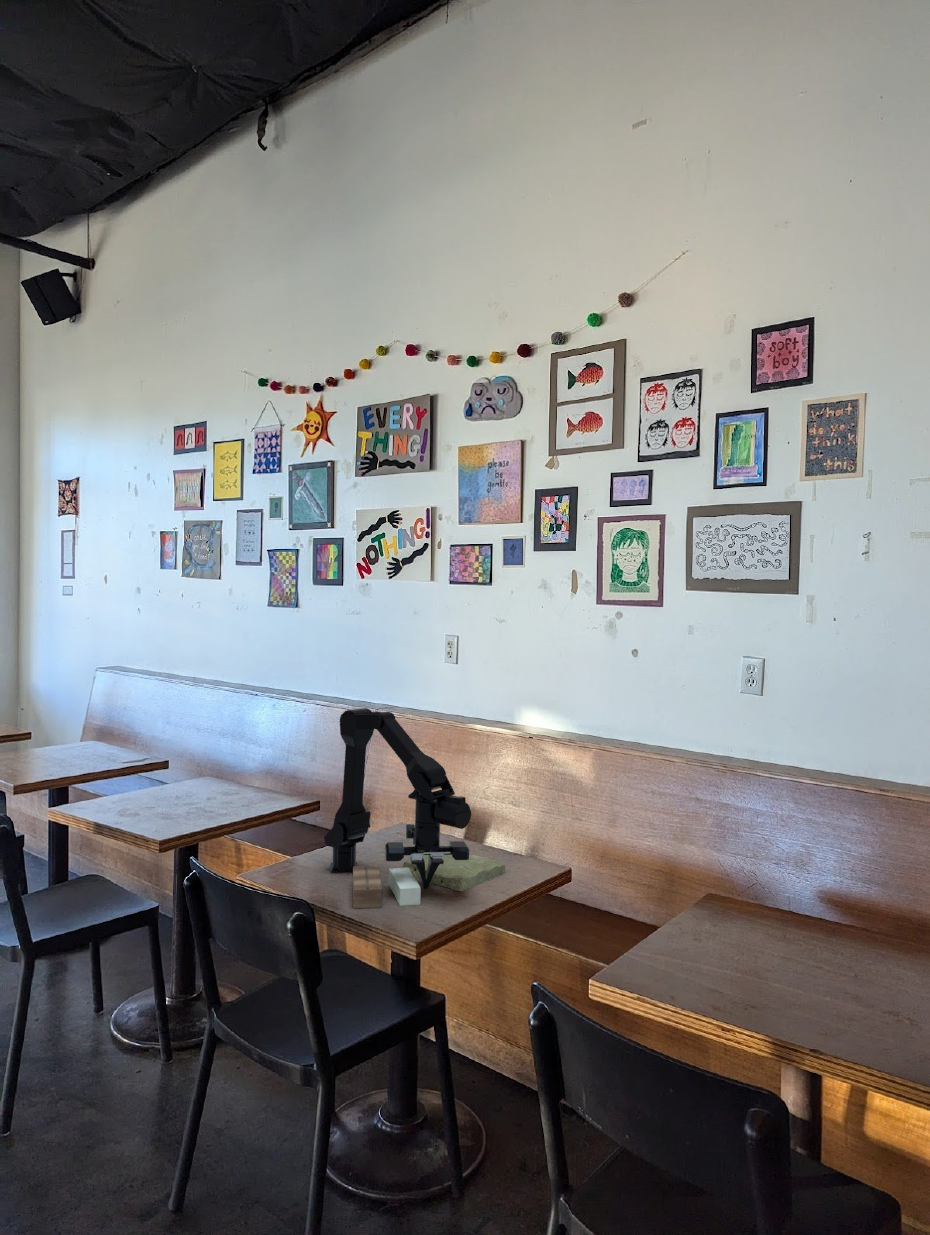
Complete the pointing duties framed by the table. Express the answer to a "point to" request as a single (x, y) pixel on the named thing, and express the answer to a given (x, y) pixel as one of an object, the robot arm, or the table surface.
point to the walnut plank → (366, 887)
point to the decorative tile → (460, 871)
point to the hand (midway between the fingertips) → (425, 888)
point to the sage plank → (404, 886)
